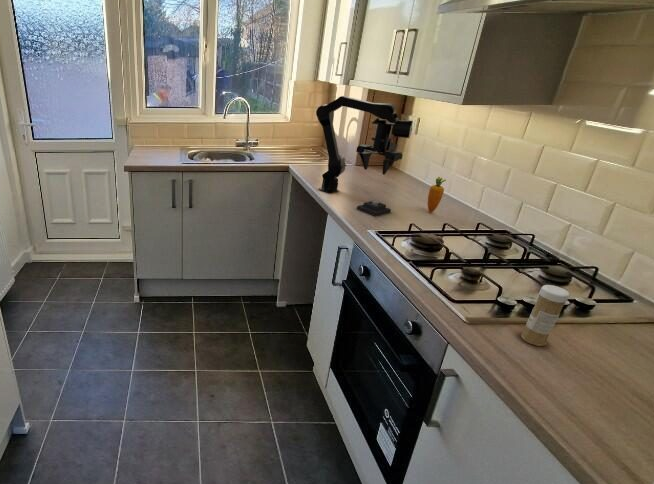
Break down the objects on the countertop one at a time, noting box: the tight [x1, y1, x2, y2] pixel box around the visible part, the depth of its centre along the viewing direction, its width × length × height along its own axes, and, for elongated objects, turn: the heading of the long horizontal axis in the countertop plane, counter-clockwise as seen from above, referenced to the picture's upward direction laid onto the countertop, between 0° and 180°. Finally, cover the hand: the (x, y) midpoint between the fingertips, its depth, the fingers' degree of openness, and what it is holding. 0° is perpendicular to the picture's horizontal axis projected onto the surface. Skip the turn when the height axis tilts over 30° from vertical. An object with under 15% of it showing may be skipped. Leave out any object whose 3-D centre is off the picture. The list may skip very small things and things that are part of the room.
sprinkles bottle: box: [520, 284, 570, 347], centre depth 91 cm, size 5×5×13 cm
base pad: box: [356, 200, 392, 217], centre depth 169 cm, size 9×9×4 cm
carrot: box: [427, 176, 447, 214], centre depth 165 cm, size 5×5×15 cm
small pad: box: [362, 200, 387, 211], centre depth 169 cm, size 6×6×2 cm
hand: (374, 171), depth 179 cm, fingers open, 9 cm apart
